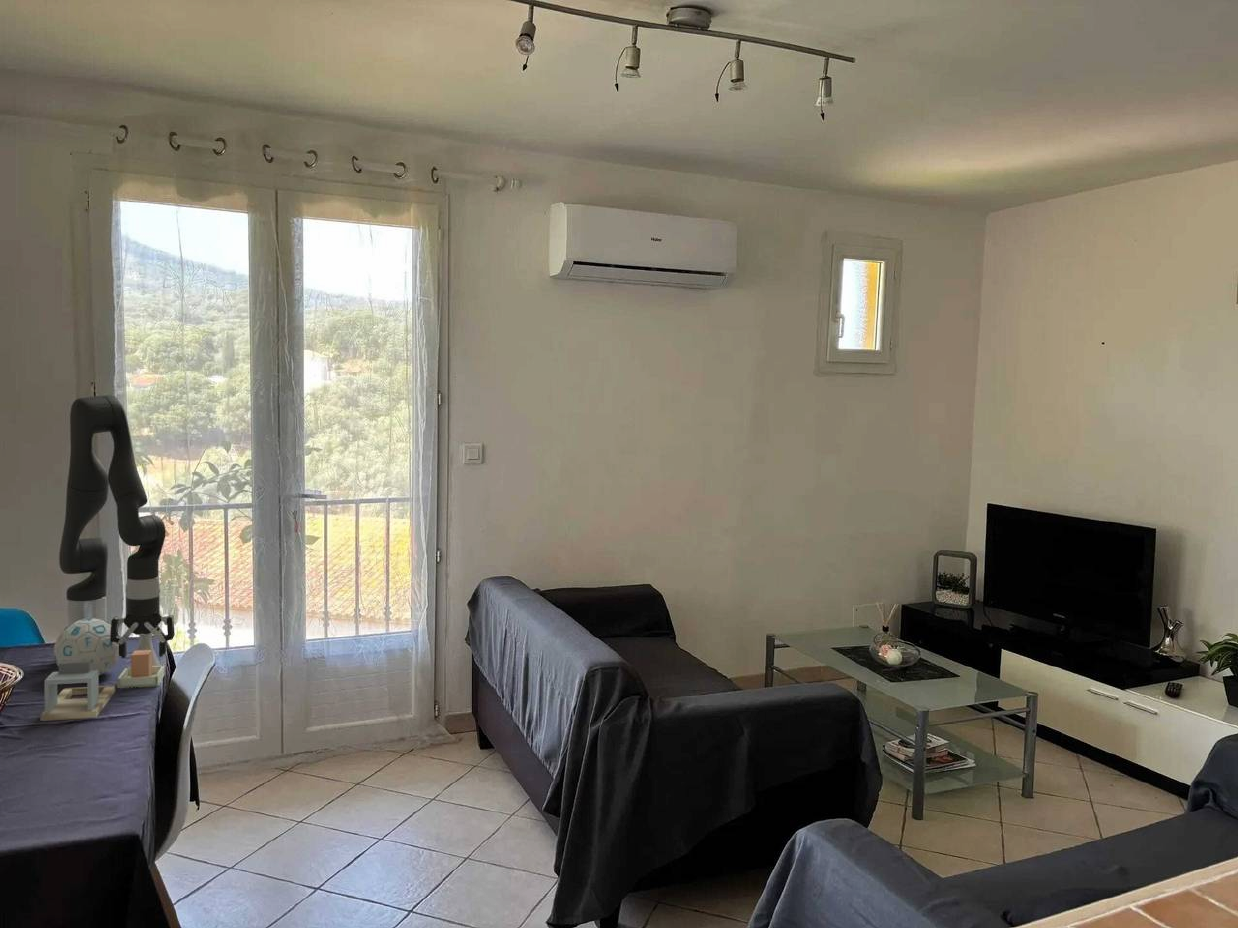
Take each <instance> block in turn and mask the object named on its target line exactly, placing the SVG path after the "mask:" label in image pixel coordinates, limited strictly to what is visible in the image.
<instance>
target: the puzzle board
mask: <svg viewBox="0 0 1238 928" xmlns="http://www.w3.org/2000/svg"><path fill="white" fill-rule="evenodd" d="M115 693H116V685H103V686H102V685H100V686H99V701H98V703H97V704H96V705H95V706H94V708H93V709H92V710H89V711H88V701H87V697H78V698H71V697H72V696H81V695H84V694H85V695H87V686H82V687H81V686H80V687H66V688H63V689H62V690H60V693H59V694H57V704H56V706H55V707H54V708H53V709H52V710H51V711H50V712H49V713H45V709H44V710H43V711H42V712H41V713H40V717H39V719H40V722H49V721H51V722H52V721H63V720H67V721H68V720H79V719H80V720H81V719H95V718H97V717H98V716H99V714H100V713H101V712H102V711H103V709H104V708H105V706H106V705H107V703H108V702H109V701H110V699H111V698H112V696H113V695H114V694H115Z"/></svg>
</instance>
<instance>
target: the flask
mask: <svg viewBox="0 0 1238 928" xmlns="http://www.w3.org/2000/svg"><path fill="white" fill-rule="evenodd" d="M152 635H153V634H152V633H150V634H139V635H138V636H139V642H138V646H137V650H136V651H138V650H152V666H162V665H161V662H160V661H159V658H158V657H157V654H156V652H155V649H154V646H153V641H152Z"/></svg>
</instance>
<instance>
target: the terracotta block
mask: <svg viewBox="0 0 1238 928" xmlns="http://www.w3.org/2000/svg"><path fill="white" fill-rule="evenodd" d="M137 650H138V649H137ZM137 650H133V652H132V654H130V667H131V677H148V676H152V650H138V651H137Z"/></svg>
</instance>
